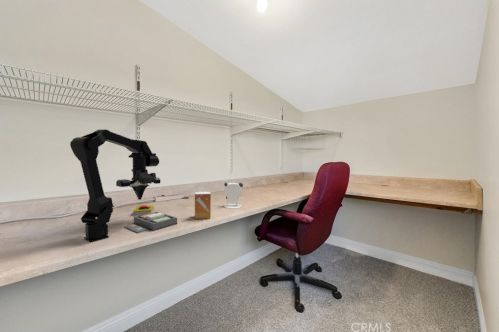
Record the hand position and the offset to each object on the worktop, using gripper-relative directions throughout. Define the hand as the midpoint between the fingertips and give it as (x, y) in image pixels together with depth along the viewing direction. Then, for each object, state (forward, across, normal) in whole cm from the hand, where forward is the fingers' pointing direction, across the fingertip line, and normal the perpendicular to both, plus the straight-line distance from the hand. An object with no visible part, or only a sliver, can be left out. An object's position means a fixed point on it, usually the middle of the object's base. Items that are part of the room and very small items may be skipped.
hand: (139, 199), depth 107 cm
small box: (+11, +25, -17) cm, 32 cm away
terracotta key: (+10, +4, -2) cm, 11 cm away
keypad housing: (+11, +4, -8) cm, 14 cm away
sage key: (+10, +4, -13) cm, 17 cm away
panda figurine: (+11, +53, -13) cm, 55 cm away
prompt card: (+11, -6, -8) cm, 15 cm away
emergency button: (+12, +10, +16) cm, 22 cm away
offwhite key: (+9, +4, -8) cm, 12 cm away
